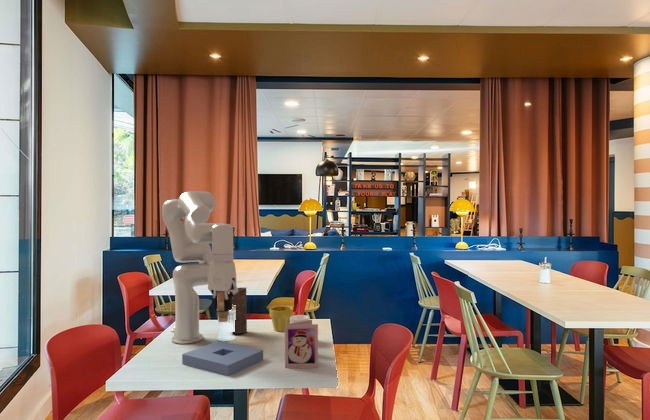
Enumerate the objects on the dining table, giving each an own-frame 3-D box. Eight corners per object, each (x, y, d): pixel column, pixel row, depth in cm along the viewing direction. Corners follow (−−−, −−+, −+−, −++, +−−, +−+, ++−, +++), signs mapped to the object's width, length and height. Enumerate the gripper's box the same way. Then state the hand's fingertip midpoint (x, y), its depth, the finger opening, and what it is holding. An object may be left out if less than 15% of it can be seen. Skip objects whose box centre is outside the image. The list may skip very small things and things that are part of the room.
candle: (242, 336, 191) (242, 289, 191) (226, 335, 193) (226, 289, 193) (249, 331, 199) (249, 286, 199) (234, 330, 200) (233, 286, 200)
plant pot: (268, 333, 196) (268, 310, 196) (271, 326, 206) (270, 305, 206) (291, 332, 196) (291, 310, 196) (293, 326, 206) (293, 305, 206)
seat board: (182, 363, 158) (182, 354, 158) (218, 349, 173) (218, 340, 173) (228, 375, 146) (228, 365, 146) (263, 359, 162) (263, 350, 162)
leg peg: (214, 321, 159) (214, 287, 159) (222, 318, 162) (222, 286, 162) (223, 322, 157) (222, 288, 156) (231, 320, 160) (231, 287, 160)
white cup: (295, 345, 178) (295, 320, 178) (286, 340, 185) (286, 316, 185) (312, 342, 182) (312, 318, 182) (303, 337, 189) (303, 314, 189)
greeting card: (284, 368, 153) (284, 325, 153) (286, 361, 160) (286, 319, 160) (318, 368, 153) (317, 324, 153) (317, 360, 160) (317, 319, 160)
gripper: (198, 258, 160) (198, 308, 160) (232, 260, 152) (233, 314, 152) (213, 256, 167) (213, 304, 167) (247, 258, 158) (247, 309, 158)
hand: (223, 308), depth 159 cm, fingers closed on leg peg, 4 cm apart
